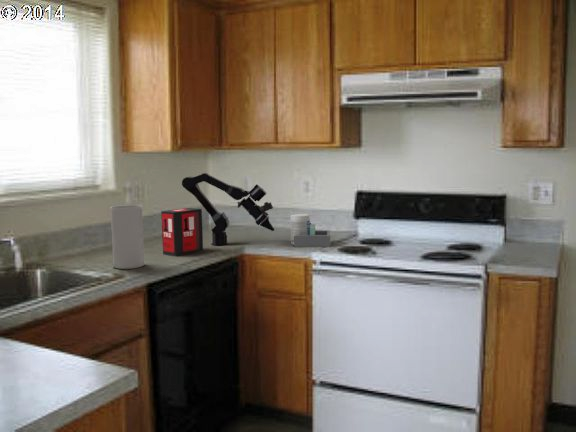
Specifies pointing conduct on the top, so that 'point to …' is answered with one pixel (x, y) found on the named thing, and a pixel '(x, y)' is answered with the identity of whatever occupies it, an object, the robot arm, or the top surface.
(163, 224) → the cleaning product box
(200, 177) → the robot arm
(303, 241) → the grey tray
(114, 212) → the cylinder vase
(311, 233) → the plate
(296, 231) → the supplement tub
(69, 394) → the top surface
